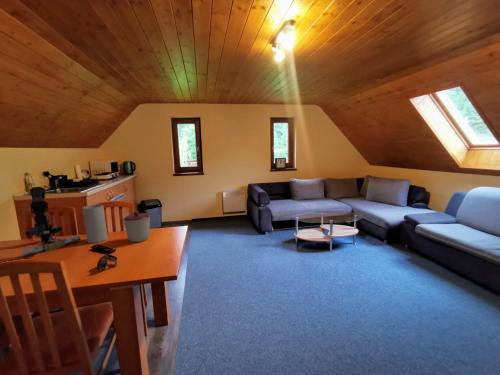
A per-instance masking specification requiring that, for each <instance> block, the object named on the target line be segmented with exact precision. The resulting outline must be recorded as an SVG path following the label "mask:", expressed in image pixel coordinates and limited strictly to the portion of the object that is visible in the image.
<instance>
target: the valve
mask: <svg viewBox="0 0 500 375" xmlns="http://www.w3.org/2000/svg"><path fill="white" fill-rule="evenodd" d="M80 241H81V235H79V234H76V235H73V236H69V237H65V238H60V237H59V238H57V239H56V238H55V239H52V240H51V241H49V242H48V244H44V245H43V246H38V245H36V246H35V245H34V246H32V247H28V248H25V249H24V248H23V249H22V250H21V252H22V255H23V257H24V258H25V257H27V256H31V255H35V254H38V253H42V252H45V253H46V252H51V251H54V250H58V249H62V248H65V246H67V245H70V244H73V243H77V242H80Z"/></svg>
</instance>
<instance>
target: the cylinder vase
mask: <svg viewBox="0 0 500 375" xmlns="http://www.w3.org/2000/svg"><path fill="white" fill-rule="evenodd" d="M82 213H83V222H84V228H85V233H86V234H85V235H86V242H87V243H89V244H97V243H102V242H105V241H106V240H107V239H108V232H107V223H106V219H105V218H106V216H105V209H104V205H103V204H92V205H86V206H83V207H82Z"/></svg>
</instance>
